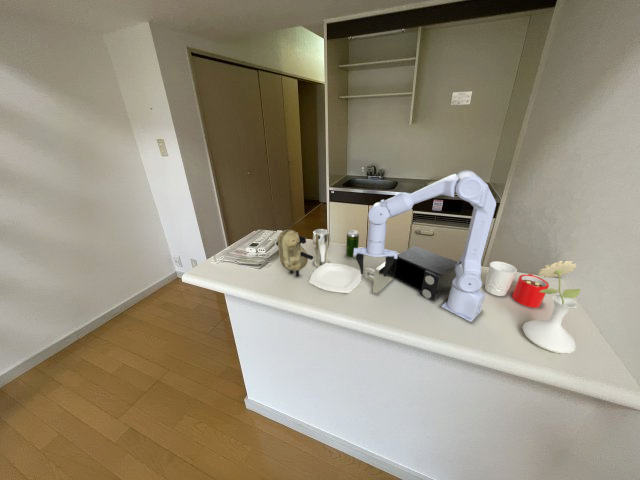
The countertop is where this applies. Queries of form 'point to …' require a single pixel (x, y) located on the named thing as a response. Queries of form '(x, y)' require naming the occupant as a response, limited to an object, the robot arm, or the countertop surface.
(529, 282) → the mug
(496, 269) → the white cup
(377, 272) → the microwave door
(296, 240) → the figurine
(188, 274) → the countertop surface
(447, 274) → the microwave
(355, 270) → the plate
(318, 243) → the silver metal tumbler
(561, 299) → the flower in vase
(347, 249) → the beer can
